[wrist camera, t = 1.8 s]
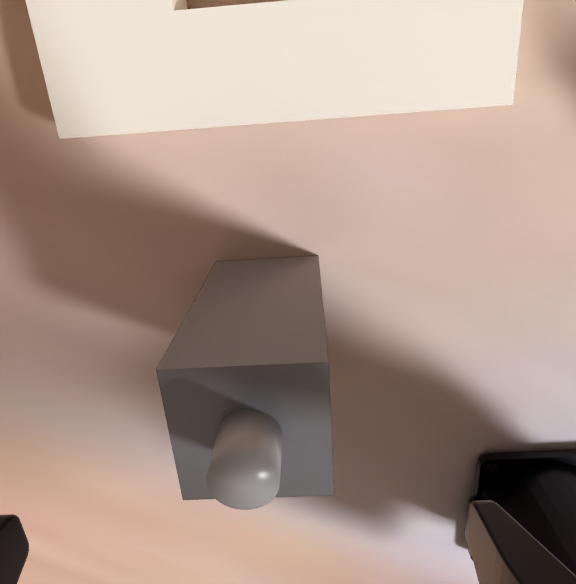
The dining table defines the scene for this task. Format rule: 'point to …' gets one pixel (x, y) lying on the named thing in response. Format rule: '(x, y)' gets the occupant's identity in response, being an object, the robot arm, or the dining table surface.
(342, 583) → the dining table surface
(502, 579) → the robot arm
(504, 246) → the dining table surface
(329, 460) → the charger brick
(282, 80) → the outlet plate
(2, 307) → the dining table surface
